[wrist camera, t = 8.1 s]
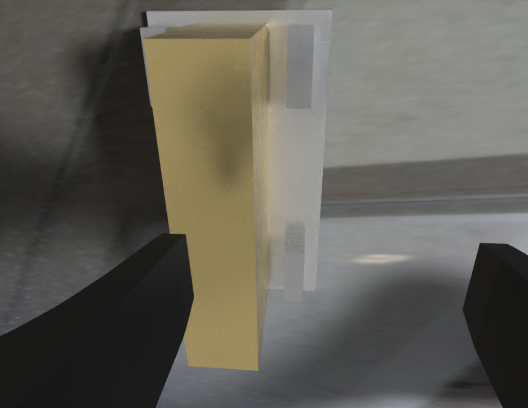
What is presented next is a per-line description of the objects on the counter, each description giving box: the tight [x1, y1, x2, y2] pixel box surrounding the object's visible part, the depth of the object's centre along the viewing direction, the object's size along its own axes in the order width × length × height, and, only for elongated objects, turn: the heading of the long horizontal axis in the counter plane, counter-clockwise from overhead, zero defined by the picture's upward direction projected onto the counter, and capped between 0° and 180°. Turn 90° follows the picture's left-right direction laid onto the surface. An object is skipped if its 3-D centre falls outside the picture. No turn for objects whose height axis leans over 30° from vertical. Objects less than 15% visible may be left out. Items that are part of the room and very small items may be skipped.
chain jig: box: [140, 10, 333, 302], centre depth 19 cm, size 14×8×2 cm, turn 1°
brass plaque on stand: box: [143, 23, 270, 371], centre depth 17 cm, size 13×3×6 cm, turn 1°
